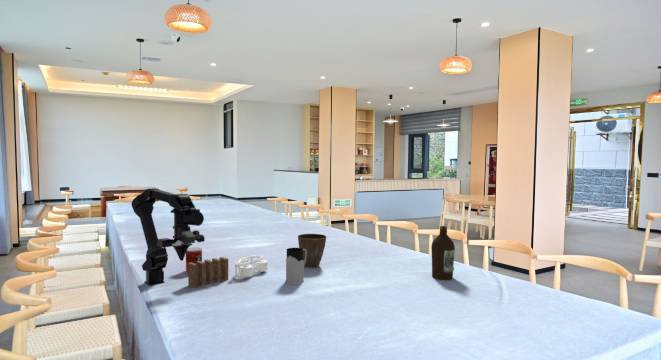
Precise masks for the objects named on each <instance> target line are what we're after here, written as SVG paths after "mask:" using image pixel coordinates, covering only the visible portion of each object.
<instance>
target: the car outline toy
mask: <svg viewBox="0 0 661 360" xmlns="http://www.w3.org/2000/svg"><path fill="white" fill-rule="evenodd" d="M253 259H254V260H253ZM249 260H250V261H249ZM234 267H235V268H234V269H235V274H234V275H235V277H234V279H235V280H243V279H247V278H249V277H251V276H256V275H257V274H261V273H262V272H266V271H268V260H265V259H264V256H262V255H259V254H256V255H255V254H254V255H249V256H244V257H242V258H240V259H239V260H238V262H235V263H234Z"/></svg>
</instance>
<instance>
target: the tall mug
mask: <svg viewBox="0 0 661 360" xmlns="http://www.w3.org/2000/svg"><path fill="white" fill-rule="evenodd" d="M303 250H305V260H303ZM306 257H307V251H306V249H302V248H299V247H289V248H286V257H285V262H286V263H285V272H286V273H285V280H284V281H285V284H289V285H300V284H303V283H304V282H305V280H304V267H305V266H304V265H305V262H306Z"/></svg>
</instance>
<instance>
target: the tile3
mask: <svg viewBox="0 0 661 360" xmlns="http://www.w3.org/2000/svg"><path fill="white" fill-rule="evenodd" d="M203 262H205V263H206V284H209V285H211V284H214V280H213V261H212V259H204V261H203Z"/></svg>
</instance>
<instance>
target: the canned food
mask: <svg viewBox="0 0 661 360" xmlns="http://www.w3.org/2000/svg"><path fill="white" fill-rule="evenodd" d="M197 261H202V262H203V248H202V247H194V246H193V247H188V249H187V251H186V254H185V272H186V273H188V263H190V262H192V263H195V264H197Z"/></svg>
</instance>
